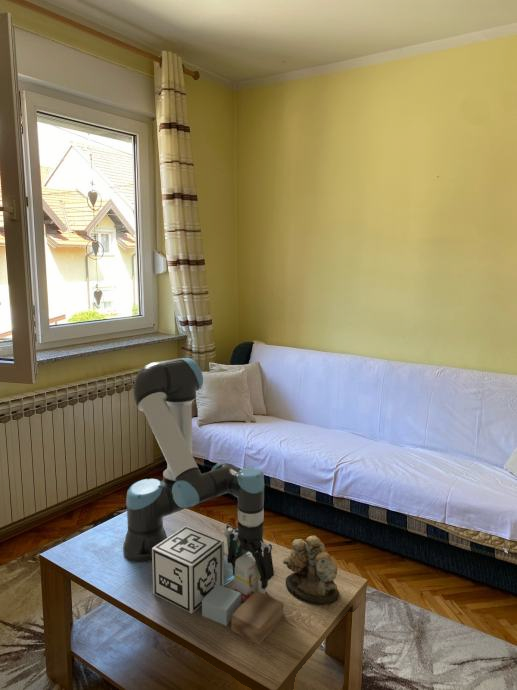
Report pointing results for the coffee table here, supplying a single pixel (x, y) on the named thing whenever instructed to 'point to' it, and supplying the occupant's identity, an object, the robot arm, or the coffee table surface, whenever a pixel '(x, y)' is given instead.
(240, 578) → the ink box
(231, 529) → the food container
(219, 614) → the slate block
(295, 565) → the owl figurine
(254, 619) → the walnut block
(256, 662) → the coffee table surface
